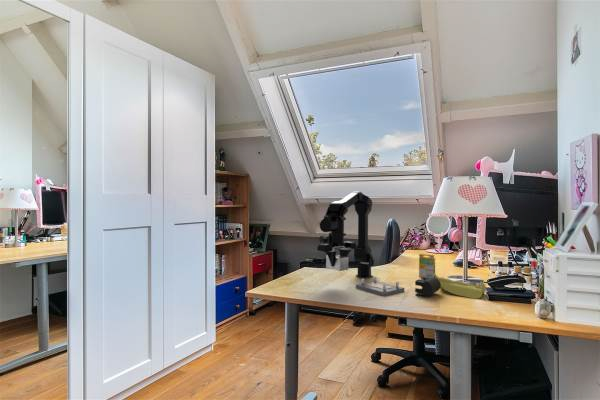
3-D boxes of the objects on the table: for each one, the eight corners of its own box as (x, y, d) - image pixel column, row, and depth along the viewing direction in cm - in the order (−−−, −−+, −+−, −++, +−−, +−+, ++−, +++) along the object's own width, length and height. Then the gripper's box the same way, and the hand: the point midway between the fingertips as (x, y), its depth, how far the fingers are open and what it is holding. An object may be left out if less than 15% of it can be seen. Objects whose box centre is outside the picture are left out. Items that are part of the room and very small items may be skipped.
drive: (334, 266, 167) (334, 254, 167) (348, 269, 160) (348, 256, 160) (326, 267, 164) (326, 255, 164) (339, 271, 157) (340, 258, 157)
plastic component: (486, 288, 154) (483, 281, 146) (483, 305, 151) (481, 299, 144) (437, 278, 165) (432, 272, 157) (434, 294, 162) (429, 288, 155)
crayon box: (435, 277, 183) (435, 254, 183) (433, 278, 180) (434, 255, 180) (420, 275, 187) (420, 253, 187) (418, 277, 184) (419, 254, 184)
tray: (375, 284, 168) (375, 275, 168) (404, 291, 155) (404, 282, 155) (355, 288, 160) (355, 279, 160) (384, 296, 148) (384, 286, 148)
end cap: (431, 299, 144) (432, 282, 144) (414, 295, 149) (414, 279, 149) (440, 294, 152) (441, 277, 152) (424, 291, 156) (424, 275, 156)
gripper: (340, 228, 174) (340, 261, 174) (309, 230, 163) (309, 265, 163) (357, 230, 165) (357, 264, 165) (326, 232, 154) (325, 269, 154)
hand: (337, 265), depth 162 cm, fingers closed on drive, 5 cm apart
